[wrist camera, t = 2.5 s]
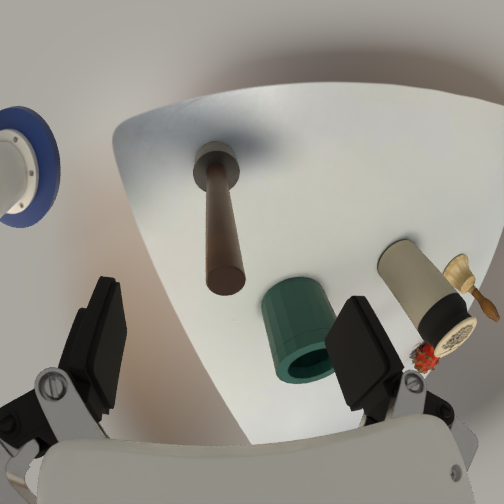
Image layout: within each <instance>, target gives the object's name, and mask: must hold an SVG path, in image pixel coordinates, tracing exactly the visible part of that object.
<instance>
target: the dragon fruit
mask: <svg viewBox="0 0 504 504" xmlns="http://www.w3.org/2000/svg"><path fill="white" fill-rule="evenodd" d="M439 359H440V357H435V355H434V349H433V346H432V345H431V344H429V343H425V345H424V347H423V348H422V349H419V348H418V349H417V351H416V357H415V358H414V359H413V360H412V362H413V363H415V366H414V368H415V369H417V371H418V372H419V373H424V374H425V373H427V371H428V370H434V366H435V365H437V364H438V363H439ZM413 363H412V364H413Z"/></svg>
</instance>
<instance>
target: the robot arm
mask: <svg viewBox="0 0 504 504" xmlns="http://www.w3.org/2000/svg"><path fill="white" fill-rule="evenodd" d="M38 184H39V166H38V160H37V157H36V154H35V151H34V149H33V147H32V145H31V143H30V142H29V140H28V139H27V138H26V137H25V136H24V135H23V134H22V133H21V132H19V131H17V130H14V129H4V130H1V131H0V218H1V217H2V216H3V215H4V214H5V213H9V214H16V213H19V212H22V211H23V210H24V209H26V208H27V207H28V206H29V205H30V204H31V202H32V201H33V199H34V197H35V195H36V193H37V189H38ZM126 336H127V327H126V321H125V315H124V309H123V303H122V296H121V289H120V283H119V282H116V281H115V278H111V277H103V276H101V277H100V278H99V280H98V282H97V284H96V287H95V289H94V291H93V294H92V297H91V299H90V301H89V304H88V306H87V308H80V309H79V310H78V312H77V315H76V317H75V320H74V323H73V325H72V328H71V330H70V333H69V336H68V338H67V341H66V344H65V347H64V350H63V353H62V356H61V359H60V362H59V366H58V368H54V367H50V368H47V369H44V370H43V371H42V372H40V374H39V375H38V376H37V378H36V380H35V389H33V390H31V391H29V392H28V393H26V394H24V395H22V396H20V397H19V398H17V399H15V400H13V401H11V402H10V403H8V404H6V405H4V406H3V407H1V408H0V504H475V500H474V496H473V492H472V488H471V484H470V481H469V478H468V474H467V471H468V469H469V467H470V465H471V462H472V460H473V458H474V455H475V453H476V451H477V448H478V439H477V437H476V436H475V434H473V432H472V431H471V430H469V428H468V427H467V426H466V425H465V424H464V423H463V422H462V421H461V420H460V419H459V418H458V417H455V418H454V410H453V408H452V407H451V405H450V404H449V403H448V402H447V401H445V400H443V399H441V398H440V397H437V396H436V395H434V394H432V393H430V392H429V391H427V390H426V389H427V386H426V381H425V379H424V378H423V376H422V375H421V374H420V373H418V372H417V371H414V370H407V371H405V372H404V373H403V372H402V370H403V369H404V366H403V364H402V362H401V360H400V358H399V356H398V354H397V352H396V350H395V348H394V347H393V345H392V343H391V341H390V339H389V337H388V335H387V334H386V332H385V330H384V328H383V326H382V325H381V323H380V321H379V319H378V318H377V316H376V314H375V312H374V311H373V309H372V307H371V306H370V304H369V302H368V300H367V299H366V297H364V296H351V297H350V299H348V300H347V301H346V303H345V304H344V306H343V308H342V310H341V312H340V313H339V315H338V317H337V319H336V320H335V322H334V324H333V326H332V327H331V329H330V331H329V332H328V334H327V336H326V337H325V346H326V349H327V352H328V354H329V357H330V360H331V363H332V365H333V368H334V371H335V373H336V376H337V379H338V382H339V384H340V387H341V390H342V393H343V396H344V399H345V401H346V404H347V405H348V406H350V409H351V411H356V410H361V409H362V408H363V410H364V414H363V416H362V419H361V422H360V424H359V427H358V428H356V429H352V430H348V431H344V432H339V433H335V434H330V435H325V436H319V437H314V438H308V439H301V440H294V441H287V442H278V443H269V444H257V445H240V446H187V445H169V444H156V443H146V442H137V441H128V440H118V439H110V438H109V436H108V435H107V433H106V432H105V430H104V429H103V427H102V426H101V424H100V423H99V422H100V421H101V420H102V414H109V409H113V408H114V405H115V398H116V390H117V384H118V378H119V373H120V367H121V361H122V356H123V351H124V346H125V341H126ZM44 455H45V456H44ZM42 456H44V458H43V460H42V464H41V467H40V472H39V478H38V486H37V497H36V496H35V495H34V494H33V493H32V492H31V491H30V490H29V489H28V487H27V485H26V483H25V474H26V472H27V470H28V469H29V468H30V466H29V464H30V463H31V462H32V460H33V459H34V458H36V459H37V458H40V457H42Z"/></svg>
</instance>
